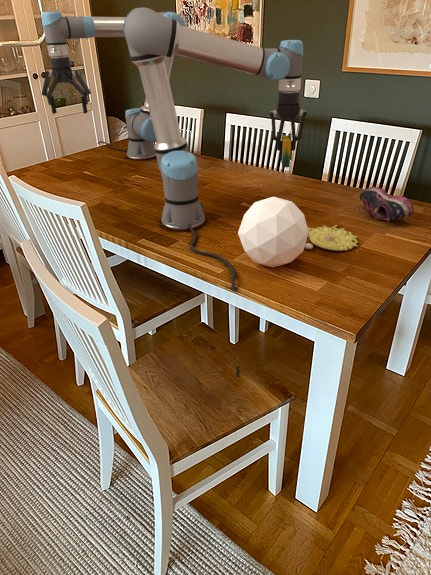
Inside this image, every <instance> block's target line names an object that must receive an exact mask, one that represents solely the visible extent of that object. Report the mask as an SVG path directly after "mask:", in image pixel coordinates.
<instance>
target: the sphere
mask: <svg viewBox="0 0 431 575" xmlns="http://www.w3.org/2000/svg"><path fill="white" fill-rule="evenodd" d="M307 227H308V224H307V220H306V217H305V214H304V213H303V211H302V210H300V208H299V207H298V206H297V204H295V203H294V202H293V201H291V200H288V199H283V198H280V197H276V196H271V197H268V198H264V199H261V200H258V201H254V202H253V203H252V205H251V206H250V207H249V209H248V210H246V211H245V213H244V214H243V217H242V220H241V224H240V226H239V228H238V231H237V234H238V238H239V240H240V242H241V245H242V248H243V251H244V253H245V254H246V255H247V256H248V257H249V258H250V259H251V261H252V262H253V263H255V264H259V265H262V266H266V267H269V268H276V267H279V266H283V265H286V264H290V263H293V262H294V260H295V259H297V258H298V257H299V256H300V255H301V254H302V253H303V252H304V250H305V248H304V247H305V244H306V243H307V239H308V234H309V231H308V228H307Z"/></svg>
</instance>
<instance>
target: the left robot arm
mask: <svg viewBox="0 0 431 575" xmlns="http://www.w3.org/2000/svg"><path fill="white" fill-rule="evenodd" d="M157 13H159V14H161V15H163V16H165V17H168V18H171V19H174V20H177V21H178V22H179V24H180V25H181V26H184V27H187V23H186V21H185V20H184V18H183V16H181V15H180V14H179V13H177V12H173V11H159V12H157ZM125 18H126V16H86V15H82V16H81V15H78V16H70V15H66V16H63V15H62V12H61V11H60V10H59V11H42V13H41V23H42V28H43V33H44V37H45V41H46V46H47V52H48V56H49V57H50V58H49V62H50V66H51V70H49V69H47V70H45V71H44V81H43V86H42V90H41V96H44V97H46V99H47V103H48V105H49V106H50V108H51V113H52V115H55V114H57V113H58V111H57V107H56V102H55V98H54V96H53V93H54V91H55V90H56V87H57V85H58V84H62V83H65V84H67V83H69V84H70V85H71V86H72V87H73V88H74V89H75V90H76V91H77V92H78V93H79V94H80V95H81V96H80V101H81V106H82V110H83V114H84V115H85V114H87V113H88V107H87V106H88V104H89V98H88V96H89V95H91V94H92V91H91V89H90V88H89V86H88V85H87V83H86V82H85V80H84V78H83V77H82V75H81V71H80V70H79V69H75V70H73V69H72V65H71V60H70V57H69V48H68V43H67V40H76V39H77V40H78V39H79V40H80V39H92V38H125V35H124V31H123V26H124V20H125ZM174 58H175V55H174V56H173V57H172V58H170V57H166V59H165V65H166V70H167V74H168V79H169V80H170V76H171V72H172V71H171V70H172V67H173V62H174ZM52 76H53V77H54V79H53V81H52V83H51V85H50V82H51V77H52ZM73 76H74V77H75V78H76V80H77V81H78V82H77V81H76V80H75V79H74V78H73ZM49 86H50V87H49ZM124 113H125V122H126V131H127V138H128V144H127V149H125V148H119V147H115V146H112V145H111V143H109V142H106V141H103V140H100V141H98V142H97V145H100V144H104V145H107V146H108V147H109V148H111V149H113V150H117V151H122V152H126V157H127V159H129V160H131V161H146V160H151V159H154V158H157V157H156V153H155V149H154V146H155V144H154V143H157V139H156V135H155V131H154V127H153V123H152V119H151V115H150V111H149V107H148V103H147V99H146V98H145V100H144V105H142V106H141V107H138V108H130V109H127V110H125V112H124Z"/></svg>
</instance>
